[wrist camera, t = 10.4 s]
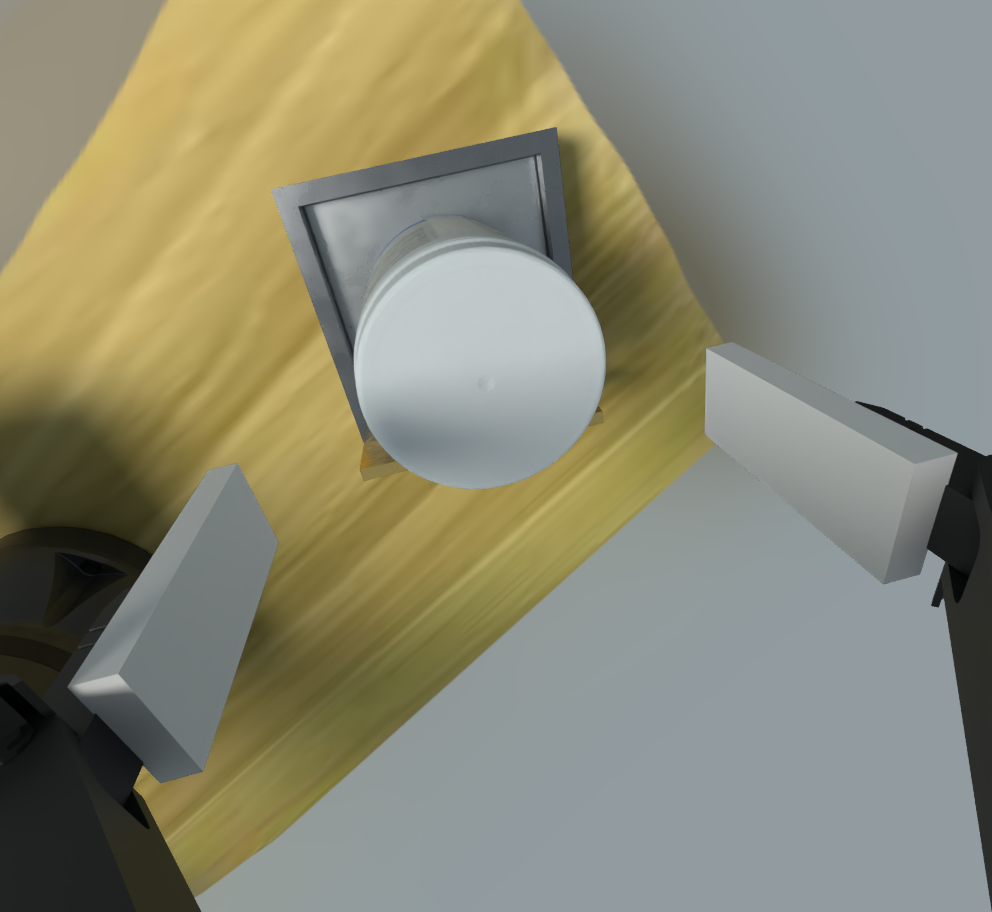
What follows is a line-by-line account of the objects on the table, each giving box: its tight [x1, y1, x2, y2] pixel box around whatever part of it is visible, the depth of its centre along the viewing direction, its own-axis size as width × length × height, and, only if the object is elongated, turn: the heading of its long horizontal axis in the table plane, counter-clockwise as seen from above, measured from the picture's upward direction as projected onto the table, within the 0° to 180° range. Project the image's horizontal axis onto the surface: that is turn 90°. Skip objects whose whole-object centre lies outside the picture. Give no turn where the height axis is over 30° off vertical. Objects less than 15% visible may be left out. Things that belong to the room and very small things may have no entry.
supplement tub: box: [354, 215, 606, 489], centre depth 25 cm, size 10×10×15 cm
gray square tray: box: [271, 127, 603, 481], centre depth 31 cm, size 15×16×8 cm
